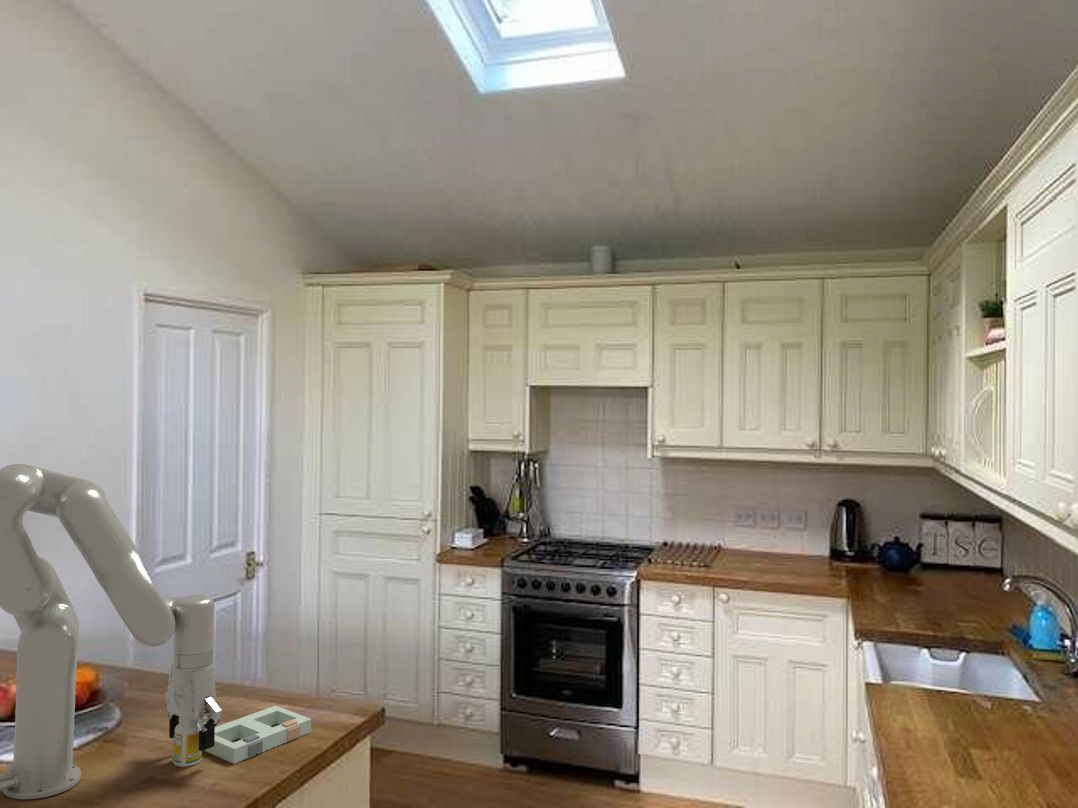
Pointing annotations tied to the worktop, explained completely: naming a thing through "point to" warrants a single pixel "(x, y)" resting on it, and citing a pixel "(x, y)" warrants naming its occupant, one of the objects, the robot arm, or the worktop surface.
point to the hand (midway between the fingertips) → (191, 742)
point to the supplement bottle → (186, 743)
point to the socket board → (258, 733)
